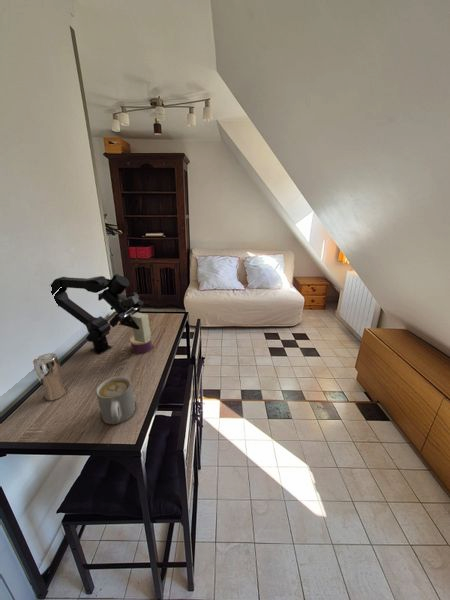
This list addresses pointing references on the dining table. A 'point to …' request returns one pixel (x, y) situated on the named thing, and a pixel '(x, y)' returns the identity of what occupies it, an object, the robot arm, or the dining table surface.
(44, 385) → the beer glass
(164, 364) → the dining table surface
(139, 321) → the cosmetic box
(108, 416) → the coffee mug
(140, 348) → the jar
